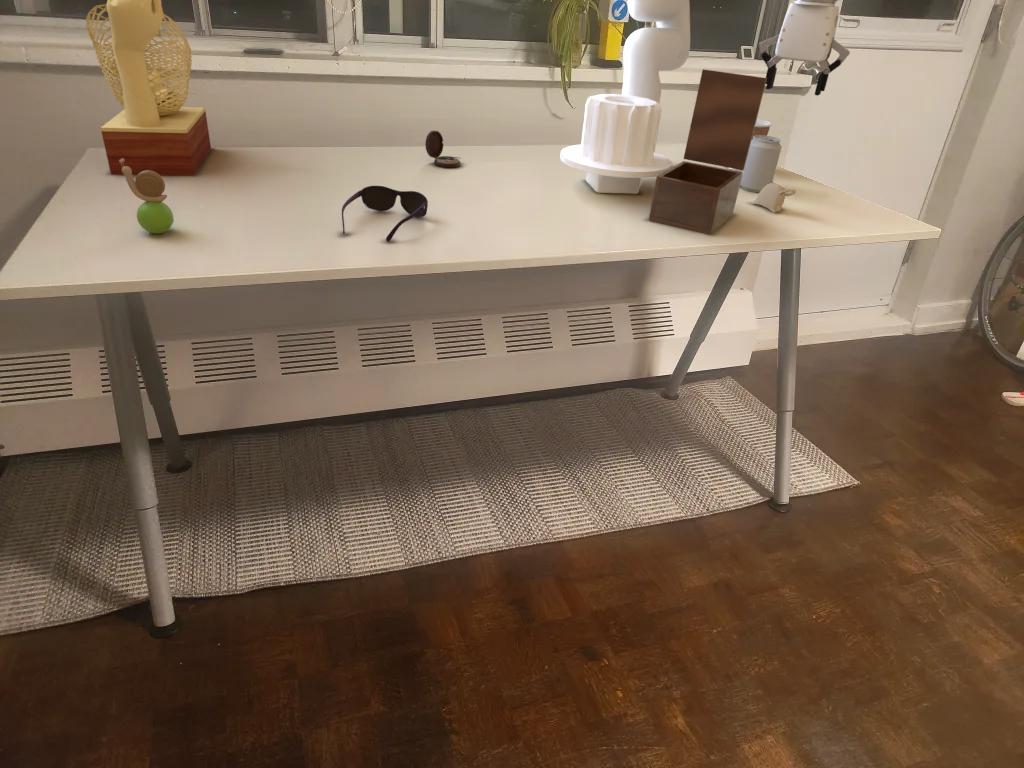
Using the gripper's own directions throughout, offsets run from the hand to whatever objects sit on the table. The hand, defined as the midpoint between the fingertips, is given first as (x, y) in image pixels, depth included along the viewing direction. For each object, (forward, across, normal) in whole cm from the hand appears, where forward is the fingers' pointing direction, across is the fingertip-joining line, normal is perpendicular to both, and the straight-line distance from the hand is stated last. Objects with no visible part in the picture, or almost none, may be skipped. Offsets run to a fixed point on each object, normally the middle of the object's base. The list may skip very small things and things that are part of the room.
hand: (792, 91), depth 145 cm
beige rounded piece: (+24, -1, 0) cm, 24 cm away
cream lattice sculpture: (+23, +117, +64) cm, 136 cm away
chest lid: (+6, +10, +10) cm, 16 cm away
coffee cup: (+24, +14, -32) cm, 42 cm away
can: (+24, +6, -14) cm, 29 cm away
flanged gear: (+24, +33, +10) cm, 42 cm away
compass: (+23, +72, +20) cm, 78 cm away
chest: (+24, +11, +19) cm, 32 cm away
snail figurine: (+24, +81, +93) cm, 125 cm away
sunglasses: (+24, +55, +65) cm, 88 cm away
